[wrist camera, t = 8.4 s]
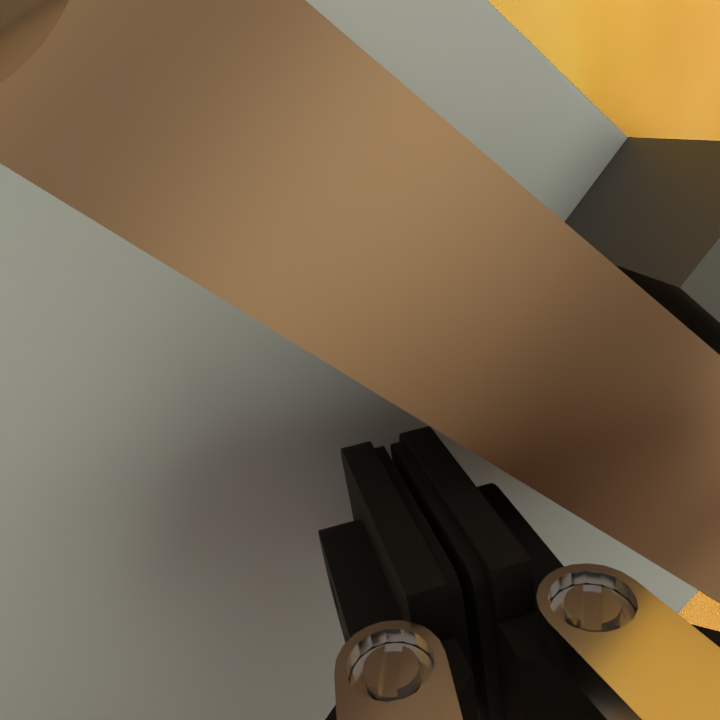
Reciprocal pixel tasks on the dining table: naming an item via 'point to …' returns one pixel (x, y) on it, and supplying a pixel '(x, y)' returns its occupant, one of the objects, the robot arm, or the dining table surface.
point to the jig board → (270, 407)
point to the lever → (373, 247)
